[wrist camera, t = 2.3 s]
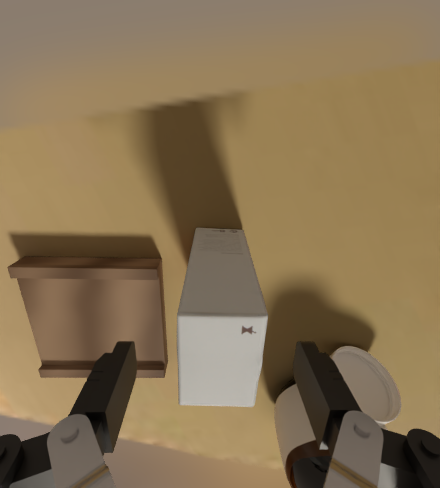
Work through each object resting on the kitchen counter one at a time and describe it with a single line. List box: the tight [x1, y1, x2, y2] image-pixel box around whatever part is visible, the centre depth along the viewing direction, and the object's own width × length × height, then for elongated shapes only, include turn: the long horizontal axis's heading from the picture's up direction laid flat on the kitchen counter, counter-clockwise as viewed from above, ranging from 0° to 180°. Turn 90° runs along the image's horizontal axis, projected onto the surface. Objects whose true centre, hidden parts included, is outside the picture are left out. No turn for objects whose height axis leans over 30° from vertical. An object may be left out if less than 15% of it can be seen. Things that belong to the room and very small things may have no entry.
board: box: [8, 257, 168, 378], centre depth 25 cm, size 12×12×2 cm
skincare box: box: [177, 228, 268, 407], centre depth 18 cm, size 6×4×12 cm
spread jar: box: [275, 346, 401, 488], centre depth 24 cm, size 12×11×12 cm
